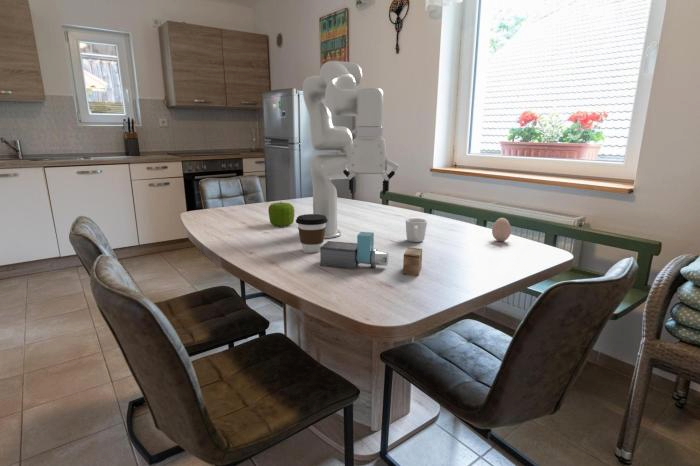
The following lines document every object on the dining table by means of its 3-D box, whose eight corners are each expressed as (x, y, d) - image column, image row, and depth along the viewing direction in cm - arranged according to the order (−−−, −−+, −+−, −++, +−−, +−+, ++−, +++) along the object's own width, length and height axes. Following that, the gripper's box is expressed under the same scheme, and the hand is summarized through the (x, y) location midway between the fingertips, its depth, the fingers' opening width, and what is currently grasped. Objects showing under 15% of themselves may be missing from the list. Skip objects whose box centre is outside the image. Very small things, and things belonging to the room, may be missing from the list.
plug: (324, 265, 124) (324, 233, 122) (330, 259, 129) (330, 229, 127) (385, 271, 119) (385, 237, 116) (388, 265, 124) (389, 233, 122)
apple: (299, 224, 178) (298, 200, 175) (283, 229, 169) (282, 204, 167) (280, 221, 184) (279, 198, 181) (264, 226, 175) (262, 201, 172)
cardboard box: (402, 274, 117) (403, 254, 115) (406, 266, 124) (407, 247, 122) (418, 275, 115) (419, 256, 114) (421, 267, 122) (422, 248, 121)
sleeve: (320, 266, 123) (320, 247, 122) (328, 258, 131) (328, 241, 129) (354, 269, 120) (354, 250, 119) (361, 261, 128) (361, 243, 126)
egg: (488, 241, 152) (490, 218, 150) (495, 238, 157) (497, 215, 154) (505, 244, 147) (507, 220, 145) (512, 241, 152) (514, 217, 150)
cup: (425, 246, 145) (426, 224, 143) (403, 245, 147) (404, 223, 145) (426, 238, 155) (427, 218, 153) (405, 237, 157) (406, 217, 155)
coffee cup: (303, 256, 132) (302, 221, 129) (292, 248, 142) (291, 215, 139) (333, 252, 137) (332, 218, 134) (320, 244, 147) (320, 212, 144)
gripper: (336, 133, 113) (337, 193, 117) (397, 133, 108) (395, 196, 112) (344, 133, 120) (344, 190, 124) (401, 133, 115) (399, 192, 120)
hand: (368, 193), depth 118 cm, fingers open, 9 cm apart
